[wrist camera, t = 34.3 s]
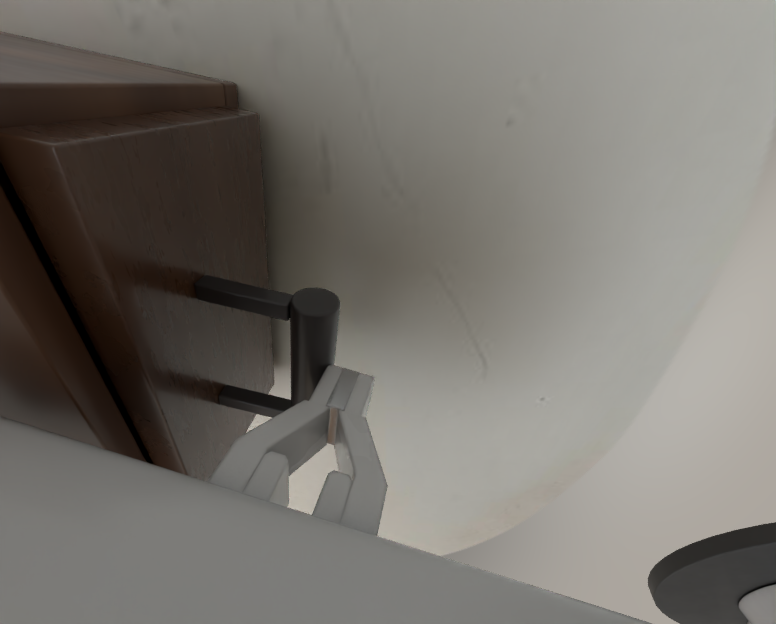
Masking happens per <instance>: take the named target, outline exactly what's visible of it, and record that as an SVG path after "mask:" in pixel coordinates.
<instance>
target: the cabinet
mask: <svg viewBox="0 0 776 624" xmlns="http://www.w3.org/2000/svg"><path fill="white" fill-rule="evenodd" d="M219 106H228V107H233V108H237V109H239V108H238V97H237V86H236V84H235V83H232V82H228V81H223V80H219V79H214V78H210V77H205V76H201V75H196V74H191V73H187V72H182V71H178V70H173V69H169V68H164V67H160V66H155V65H151V64H146V63H141V62H137V61H132V60H128V59H123V58H119V57H114V56H110V55H105V54H100V53H96V52H91V51H87V50H82V49H78V48H73V47H69V46H64V45H60V44H55V43H50V42H46V41H41V40H37V39H32V38H28V37H23V36H19V35H14V34H9V33H5V32H0V128H7V127H17V126H27V125H37V124H47V123H57V122H68V121H78V120H88V119H98V118H108V117H118V116H128V115H138V114H148V113H159V112H169V111H179V110H189V109H199V108H209V107H219ZM0 416H3V417H6V418H9V419H12V420H15V421H18V422H21V423H24V424H28V425H31V426H34V427H37V428H40V429H43V430H46V431H50V432H53V433H56V434H59V435H62V436H65V437H68V438H72V439H75V440H78V441H81V442H84V443H87V444H90V445H94V446H97V447H100V448H103V449H106V450H109V451H112V452H116V453H119V454H122V455H125V456H128V457H131V458H134V459H138V460H141V461H144V462H146V460H145V458H144V456H143V454H142V452H141V450H140V448H139V447H138V445H137V443H136V441H135V439H134V437H133V435H132V433H131V431H130V429H129V428H128V426H127V424H126V422H125V420H124V418H123V416H122V414H121V412H120V411H119V409H118V407H117V405H116V403H115V401H114V399H113V397H112V395H111V393H110V392H109V390H108V388H107V386H106V384H105V382H104V380H103V378H102V376H101V374H100V373H99V371H98V369H97V367H96V365H95V363H94V361H93V359H92V357H91V355H90V354H89V352H88V350H87V348H86V346H85V344H84V342H83V340H82V338H81V336H80V335H79V333H78V331H77V329H76V327H75V325H74V323H73V321H72V319H71V317H70V316H69V314H68V312H67V310H66V308H65V306H64V304H63V302H62V300H61V298H60V297H59V295H58V293H57V291H56V289H55V287H54V285H53V283H52V281H51V280H50V278H49V276H48V274H47V272H46V270H45V268H44V266H43V264H42V262H41V261H40V259H39V257H38V255H37V253H36V251H35V249H34V247H33V245H32V243H31V242H30V240H29V238H28V236H27V234H26V232H25V230H24V228H23V226H22V224H21V223H20V221H19V219H18V217H17V215H16V213H15V211H14V209H13V207H12V205H11V204H10V202H9V200H8V198H7V196H6V194H5V192H4V190H3V188H2V186H1V185H0ZM153 465H154V464H153Z"/></svg>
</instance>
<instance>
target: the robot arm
mask: <svg viewBox="0 0 776 624" xmlns="http://www.w3.org/2000/svg"><path fill="white" fill-rule="evenodd" d="M374 381H375V377H374V376H370V375H367V374H363V373H360V372H356V371H352V370H349V369H346V368H342V367H338V366H335V365H332V364H331V365H329V366H327V368H326V369H325V371H324V373H323V375H322V377H321V379H320V381H319V383H318V385H317V386H316V388H315V390H314V392H313V394H312V396H311V398H310V400H309V401H307V400H303V401H301V402H300V403H298V404H296V405H294V406H293V407H291V408H289V409H287V410H286V411H284V412H282V413H281V414H279V415H277V416H275V417H274V418H272V419H270V420H268V421H267V422H265V423H263V424H261V425H260V426H258V427H256V428H254V429H253V430H251V431H249V432H247V433H246V434H244V435H242V436H240V437H239V438H237V439H236V440H235V441H234V443H233V444H232V446H231V447H230V449H229V450H228V452H227V453H226V455H225V456H224V457H223V459H222V460H221V462H220V463H219V465H218V466H217V468H216V469H215V470H214V472H213V473H212V475H211V476H210V478H209V479H208V481H203V480H200V479H197V478H194V477H191V476H188V475H185V474H182V473H178V472H175V471H172V470H169V469H166V468H163V467H160V466H156V465H153V464H150V463H147V462H144V461H141V460H138V459H134V458H131V457H128V456H125V455H122V454H119V453H116V452H112V451H109V450H106V449H103V448H100V447H97V446H94V445H90V444H87V443H84V442H81V441H78V440H75V439H72V438H68V437H65V436H62V435H59V434H56V433H53V432H50V431H46V430H43V429H40V428H37V427H34V426H31V425H28V424H24V423H21V422H18V421H15V420H12V419H9V418H6V417H3V416H0V624H652V623H649V622H646V621H643V620H639V619H636V618H633V617H630V616H627V615H624V614H621V613H617V612H614V611H611V610H608V609H605V608H602V607H599V606H596V605H592V604H589V603H586V602H583V601H580V600H577V599H573V598H570V597H567V596H564V595H561V594H558V593H554V592H552V591H548V590H545V589H542V588H539V587H536V586H533V585H530V584H526V583H523V582H520V581H517V580H514V579H511V578H508V577H504V576H501V575H498V574H495V573H492V572H489V571H486V570H482V569H479V568H476V567H473V566H470V565H467V564H463V563H460V562H457V561H454V560H451V559H447V558H444V557H442V556H439V555H435V554H432V553H429V552H426V551H423V550H420V549H417V548H413V547H410V546H407V545H404V544H401V543H398V542H395V541H392V540H388V539H385V538H382V537H379V536H377V534H378V529H379V524H380V519H381V515H382V510H383V505H384V501H385V496H386V491H387V486H388V485H387V482H386V479H385V476H384V473H383V470H382V467H381V463H380V460H379V457H378V454H377V451H376V448H375V445H374V442H373V439H372V436H371V432H370V429H369V426H368V423H367V420H366V415H367V411H368V407H369V403H370V399H371V395H372V390H373V385H374ZM327 443H329V444H332V445H335V446H334V447H335V452H336V458H337V464H338V469H339V472H338V471H332V472H330V473H328V475H327V478H326V481H325V483H324V486H323V488H322V491H321V493H320V496H319V498H318V501H317V503H316V506H315V508H314V511H313V514H312V515H310V514H307V513H304V512H301V511H298V510H294V509H291V508H288V507H287V506H288V504H289V477H288V476H289V475H291V474H292V473H293V472H294V471H295V470H297V469H298V468H299V467H300V466H301V465H303V464H304V463H305V462H306V461H307V460H309V459H310V458H311V457H312V456H314V455H315V454H316V453H317V452H318V451H320V450H321V449H322V448H323V447H324V446H326V445H327ZM739 609H740V611H741V612H742V613H743V615H744V616H745V617H746V618H747V620H748V622H747V624H776V584H774V585H770V586H767V587H764V588H761V589H758V590H756V591H753V592H751V593H749V594H747V595H746V596H744V597H743V598H742V599H741V600H740V602H739Z"/></svg>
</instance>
